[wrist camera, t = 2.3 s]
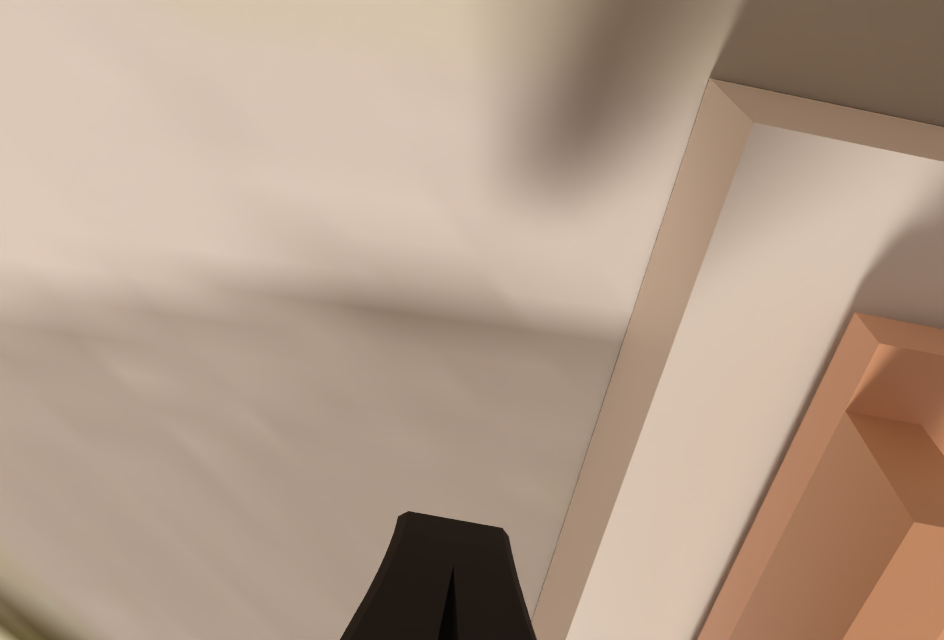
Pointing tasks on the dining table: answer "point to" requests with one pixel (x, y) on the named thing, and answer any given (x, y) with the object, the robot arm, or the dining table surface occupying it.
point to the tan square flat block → (852, 504)
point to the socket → (738, 346)
